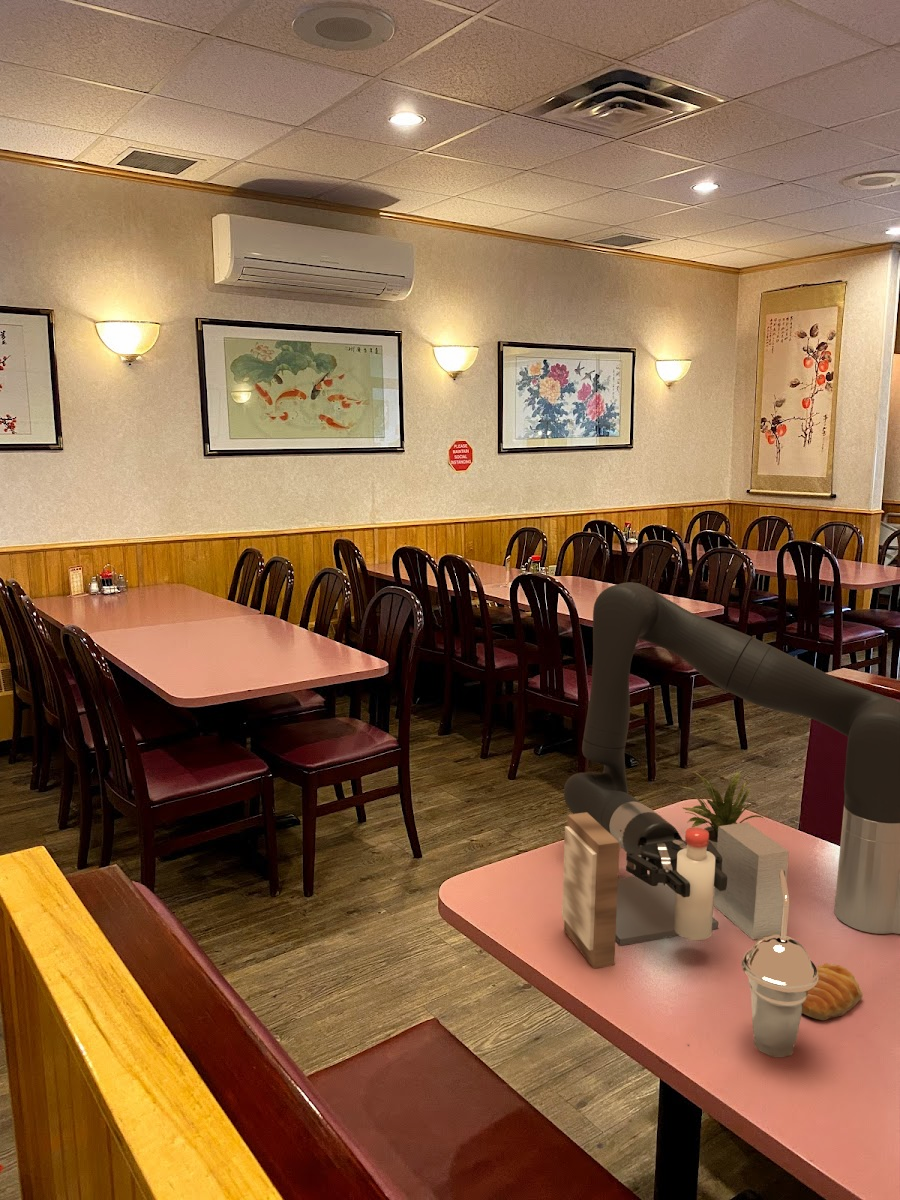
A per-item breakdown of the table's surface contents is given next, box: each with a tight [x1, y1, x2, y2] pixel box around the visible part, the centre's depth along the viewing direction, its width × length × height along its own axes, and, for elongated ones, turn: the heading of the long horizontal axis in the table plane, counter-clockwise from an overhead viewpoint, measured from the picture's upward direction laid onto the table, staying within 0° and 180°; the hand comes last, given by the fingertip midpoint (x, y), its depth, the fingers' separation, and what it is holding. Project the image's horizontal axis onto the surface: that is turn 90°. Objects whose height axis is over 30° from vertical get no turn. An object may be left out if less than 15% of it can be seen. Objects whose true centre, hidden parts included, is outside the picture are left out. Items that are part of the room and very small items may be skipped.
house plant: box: [678, 770, 764, 850], centre depth 152 cm, size 14×14×16 cm
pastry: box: [802, 962, 864, 1021], centre depth 117 cm, size 9×7×4 cm
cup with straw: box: [741, 870, 818, 1058], centre depth 107 cm, size 8×9×20 cm
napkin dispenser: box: [713, 821, 790, 940], centre depth 135 cm, size 10×5×13 cm, turn 17°
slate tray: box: [615, 873, 719, 946], centre depth 139 cm, size 16×16×1 cm
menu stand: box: [561, 812, 620, 969], centre depth 127 cm, size 10×4×18 cm, turn 17°
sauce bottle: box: [674, 826, 715, 941], centre depth 125 cm, size 5×5×14 cm
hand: (705, 887), depth 122 cm, fingers closed on sauce bottle, 5 cm apart
